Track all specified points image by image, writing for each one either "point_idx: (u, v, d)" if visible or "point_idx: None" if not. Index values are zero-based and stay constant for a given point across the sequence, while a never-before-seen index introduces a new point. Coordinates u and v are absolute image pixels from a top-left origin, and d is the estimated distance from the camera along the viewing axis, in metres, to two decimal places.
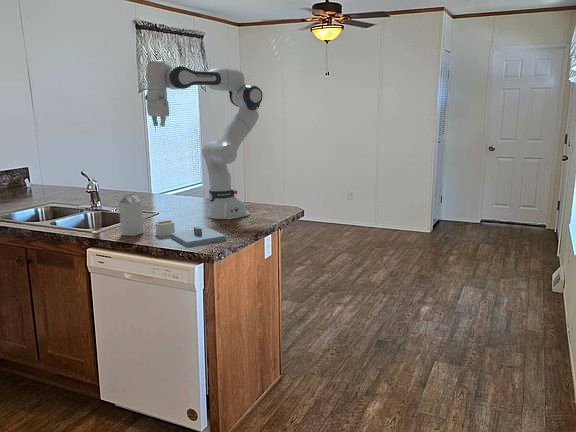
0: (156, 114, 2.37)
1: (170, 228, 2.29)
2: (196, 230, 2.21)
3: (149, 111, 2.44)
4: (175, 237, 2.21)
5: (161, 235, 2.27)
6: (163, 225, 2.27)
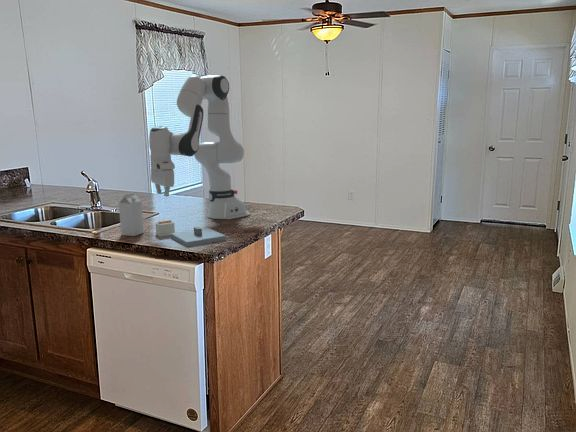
0: None
1: (170, 228, 2.29)
2: (196, 230, 2.21)
3: None
4: (175, 237, 2.21)
5: (161, 235, 2.27)
6: (163, 225, 2.27)
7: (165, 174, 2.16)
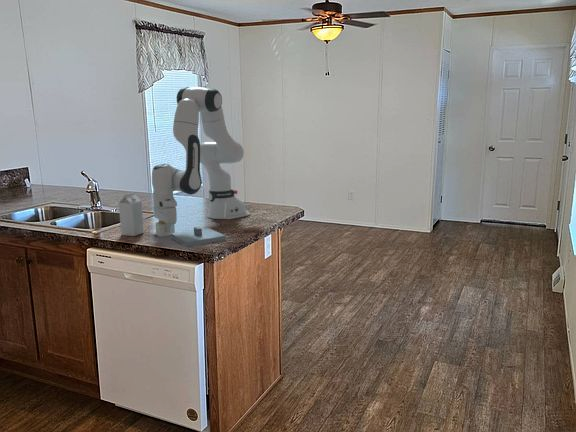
0: None
1: (170, 228, 2.29)
2: (196, 230, 2.21)
3: None
4: (175, 237, 2.21)
5: (161, 235, 2.27)
6: (163, 225, 2.27)
7: (168, 212, 2.20)
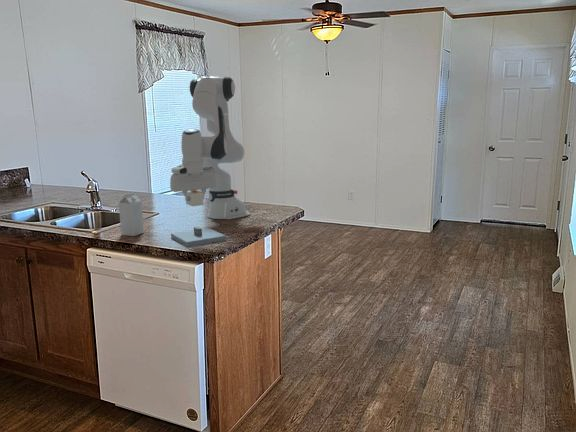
0: (201, 187, 2.18)
1: (190, 198, 2.17)
2: (196, 230, 2.21)
3: (179, 186, 2.13)
4: (175, 237, 2.21)
5: (186, 202, 2.21)
6: (187, 193, 2.19)
7: (171, 178, 2.13)
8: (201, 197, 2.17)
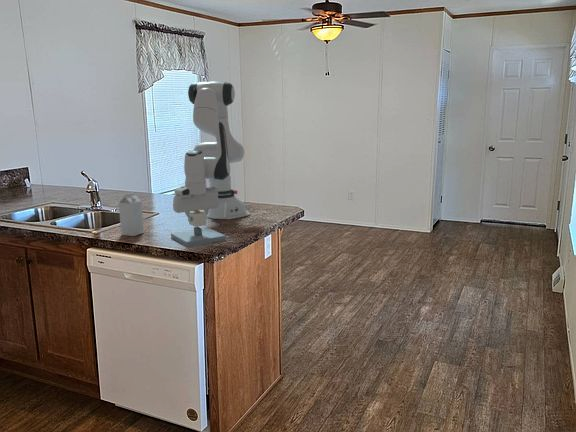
0: (203, 207, 2.20)
1: (193, 218, 2.18)
2: (196, 230, 2.21)
3: (182, 207, 2.14)
4: (175, 237, 2.21)
5: (189, 222, 2.22)
6: (190, 213, 2.20)
7: (173, 199, 2.15)
8: (204, 217, 2.19)
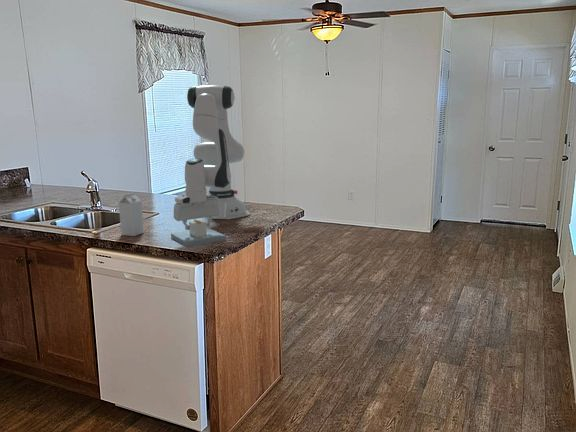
0: (204, 215, 2.21)
1: (193, 229, 2.19)
2: None
3: (183, 215, 2.15)
4: (175, 237, 2.21)
5: (190, 232, 2.23)
6: (190, 223, 2.21)
7: (174, 207, 2.16)
8: (204, 228, 2.20)
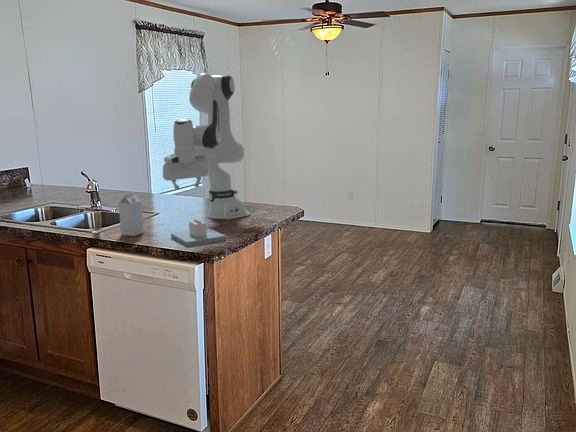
0: (193, 176, 2.24)
1: (193, 229, 2.19)
2: None
3: (172, 175, 2.18)
4: (175, 237, 2.21)
5: (190, 232, 2.23)
6: (190, 223, 2.21)
7: (163, 167, 2.19)
8: (204, 228, 2.20)
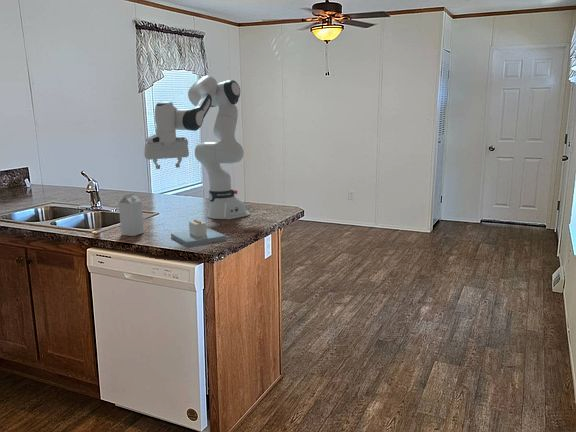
0: (173, 156, 2.33)
1: (193, 229, 2.19)
2: None
3: (153, 154, 2.28)
4: (175, 237, 2.21)
5: (190, 232, 2.23)
6: (190, 223, 2.21)
7: (145, 146, 2.29)
8: (204, 228, 2.20)
